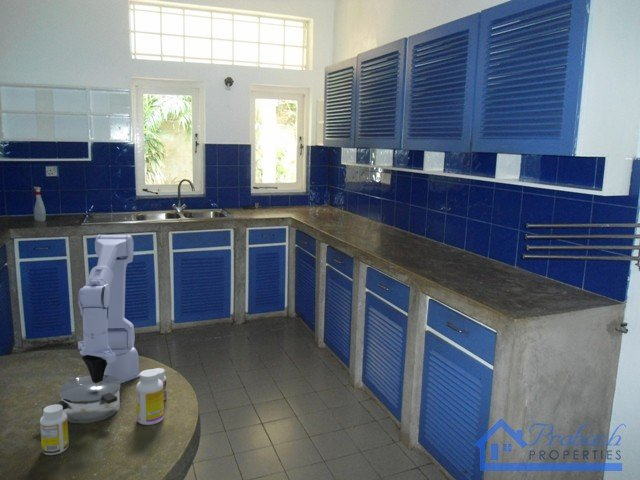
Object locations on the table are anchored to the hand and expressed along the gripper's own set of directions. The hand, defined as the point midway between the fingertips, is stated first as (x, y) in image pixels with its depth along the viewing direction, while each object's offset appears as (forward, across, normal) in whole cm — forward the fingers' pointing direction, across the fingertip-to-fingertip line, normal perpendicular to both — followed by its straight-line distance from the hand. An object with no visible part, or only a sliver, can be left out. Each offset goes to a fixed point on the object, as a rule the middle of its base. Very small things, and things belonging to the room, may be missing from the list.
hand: (97, 381), depth 133 cm
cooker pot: (+9, -3, -3) cm, 10 cm away
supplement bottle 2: (+9, +12, +7) cm, 17 cm away
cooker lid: (+4, -2, 0) cm, 4 cm away
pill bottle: (+9, +4, +15) cm, 18 cm away
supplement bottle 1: (+9, +8, -15) cm, 19 cm away
